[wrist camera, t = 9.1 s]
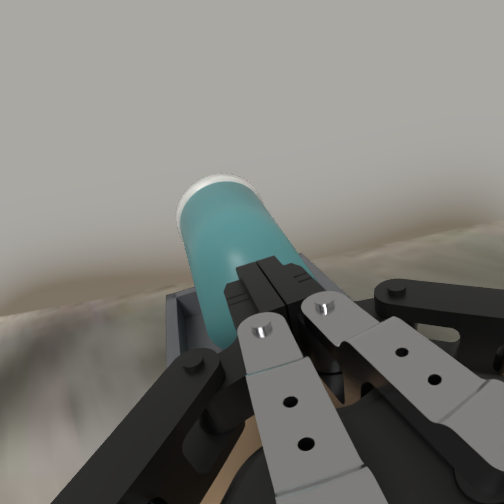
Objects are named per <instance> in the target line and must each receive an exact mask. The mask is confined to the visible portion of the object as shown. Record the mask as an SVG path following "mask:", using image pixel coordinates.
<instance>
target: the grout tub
mask: <svg viewBox="0 0 504 504" xmlns="http://www.w3.org/2000/svg"><path fill="white" fill-rule="evenodd" d="M176 223H177V228H178V232H179V235H180V237H181V239H182V240H183V242H184V246H185V250H186V254H187V258H188V262H189V266H190V270H191V273H192V277H193V281H194V285H195V289H196V293H197V297H198V300H199V304H200V308H201V311H202V315H203V319H204V322H205V326H206V329H207V332H208V335H209V337H210V339H211V340H212V342H213V343H214V344H215V345H217V346H218V347H220V348H221V349H223V350H225V349H226V348H228V347H229V346H230V345H231V344H232V343H233V342H234V341H235V339H236V337H237V332H236V329H235V327H234V324H233V321H232V318H231V314H230V311H229V308H228V305H227V302H226V299H225V295H224V292H223V291H224V289H225V286H226V284H227V283H230V282H234V281H237V280H239V279H238V276H237V272H236V267H239V266H242V265H245V264H248V263H251V262H255V261H257V260H260V259H264V258H267V257H270V256H273V255H274V256H275V257H276V258H277V259H278V260H279V261H280V262H281V263H282V264H283V265H286V264H289V263H293V264H296V265H299V266H302V267H303V268H304V269H305V270H306V271H307V273H309V274H310V275H311V276H312V278H314V279H315V277H314V276H313V274H312V273H311V271H310V270H309V269H308V267H307V266H306V264H305V263H304V261H303V260H302V258H301V257H300V256H299V254H298V253H297V251H296V250H295V248H294V247H293V246H292V244H291V243H290V241H289V240H288V238H287V237H286V236H285V234H284V233H283V231H282V230H281V229H280V227H279V226H278V224H277V223H276V222H275V220H274V219H273V218H272V216H271V215H270V213H269V212H268V210H267V209H266V208H265V206H264V204H263V201H262V199H261V197H260V195H259V193H257V191H256V189H255V188H254V187H253V186H252V185H251V184H250V183H249V182H248V181H247V180H245V179H243V178H241V177H239V176H236V175H233V174H223V173H221V174H214V175H210V176H207V177H204V178H202V179H200V180H198V181H197V182H195V183H194V184H192V185H191V186H190V187H189V188H188V189H187V190H186V191H185V192H184V194H183V196H182V197H181V199H180V201H179V203H178V206H177V210H176ZM315 280H316V279H315ZM316 281H317V280H316Z"/></svg>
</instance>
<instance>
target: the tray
mask: <svg viewBox="0 0 504 504" xmlns="http://www.w3.org/2000/svg"><path fill="white" fill-rule="evenodd" d="M299 256H300V257H301V258H302V260H303V261H304V263H305V264H306V266H307V267H308V269H309V270H310V271H311V273H312V274H313V276H314V277H315V279H316V280H317V282H318V283H319V284H320V285H321V286H322V287H323V288H324V289H325V290H326V291H335V292H339V293H342V294H343V295H345V296H346V297H347V298H349V299H350V300H351V301H353V300H352V299H351V298H350V297H349V296H347V295H346V294H345V293H344V292H343V291H342V290H341V289H340V288H339V287H338V286H337V285H336V284H335V283H334V282H332V281H331V280H330V279H329V278H328V277H327V276H326V275H325V274H324V273H323V272H322V271H321V270H319V269H318V268H317V267H316V266H315V265H314V264H313V263H312V262H311V261H310V260H309V259H307V258H306V257H305V256H304V255H303V254H302V253H300V254H299ZM353 302H354V301H353ZM195 348H209V349H212V350H214V351H215V352H216V353H217V354H218V353H220V352H221V351H223V349H221V348H220V347H218V346H217V345H215V344H214V343H213V342H212V340H211V339H210V337H209V335H208V332H207V329H206V326H205V322H204V319H203V315H202V311H201V308H200V304H199V300H198V297H197V293H196V289H195V287H192V288H189V289H186V290H182V291H179V292H176V293H173V294H169V295H166V352H167V368H168V367H169V365H170V364H171V363H172V362H173V361H174V360H175V359H176V358H177V357H178V356H179V355H181V354H182V353H184V352H186V351H188V350H191V349H195Z"/></svg>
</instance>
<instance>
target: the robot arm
mask: <svg viewBox="0 0 504 504" xmlns="http://www.w3.org/2000/svg"><path fill="white" fill-rule="evenodd" d="M236 272H237V276H238V279H239V280H237V281H234V282H230V283H227V284H226V286H225V289H224V291H223V292H224V295H225V299H226V302H227V305H228V308H229V311H230V314H231V318H232V321H233V324H234V327H235V329H236V332H237V337H236V339H235V341H234V342H233V343H232V344H231V345H230V346H229V347H228V348H226V349H225V350H223V351H221V352H220V353H218V354H217V353H216V352H215V351H214V350H212V349H209V348H195V349H191V350H188V351H186V352H184V353H182V354H181V355H179V356H178V357H177V358H176V359H175V360H174V361H173V362H172V363H171V364H170V365H169V367H168V368H167V369H166V370H165V371H164V372H163V374H162V375H161V376H160V377H159V378H158V380H157V381H156V382H155V383H154V384H153V385H152V387H151V388H150V389H149V390H148V391H147V392H146V394H145V395H144V396H143V397H142V398H141V400H140V401H139V402H138V403H137V404H136V405H135V407H134V408H133V409H132V410H131V411H130V412H129V414H128V415H127V416H126V417H125V418H124V419H123V421H122V422H121V423H120V424H119V425H118V426H117V428H116V429H115V430H114V431H113V432H112V433H111V435H110V436H109V437H108V438H107V439H106V440H105V442H104V443H103V444H102V445H101V446H100V447H99V448H98V450H97V451H96V452H95V453H94V454H93V455H92V457H91V458H90V459H89V460H88V461H87V462H86V464H85V465H84V466H83V467H82V468H81V469H80V470H79V472H78V473H77V474H76V475H75V476H74V477H73V478H72V480H71V481H70V482H69V483H68V484H67V485H66V487H65V488H64V489H63V490H62V491H61V492H60V493H59V495H58V496H57V497H56V498H55V499H54V500H53V501H52V502H51V504H200V503H201V501H202V500H203V498H204V497H205V495H206V493H207V492H208V490H209V489H210V487H211V485H212V484H213V482H214V480H215V479H216V477H217V475H218V474H219V472H220V470H221V469H222V467H223V465H224V464H225V462H226V460H227V459H228V457H229V455H230V453H231V452H232V450H233V448H234V446H235V445H236V443H237V441H238V439H239V438H240V436H241V434H242V432H243V430H244V428H245V420H247V419H249V418H250V417H252V416H253V415H255V417H256V422H257V426H258V430H259V434H260V437H261V441H262V445H263V446H262V447H260V448H259V449H257V450H256V451H255V452H254V453H253V454H252V455H251V456H250V457H249V458H248V459H247V460H246V461H245V462H244V463H243V464H242V466H241V467H240V468H239V470H238V471H237V473H236V474H235V476H234V478H233V480H232V482H231V484H230V486H229V487H228V489H227V491H226V493H225V495H224V497H223V499H222V501H221V503H220V504H504V290H501V289H491V288H482V287H472V286H463V285H453V284H444V283H434V282H425V281H416V280H407V279H391V280H387V281H384V282H382V283H380V284H379V285H378V286H377V287H376V288H375V290H374V298H373V299H367V300H362V301H355V302H353V301H351V300H350V299H349V298H347V297H346V296H345V295H343V294H342V293H339V292H335V291H326V290H325V289H324V288H323V287H322V286H321V285H320V284H319V283H318V282H317V281H316V280H315V279H314V278H312V276H311V275H310V274H309V273H307V271H306V270H305V269H304V268H303V267H302V266H299V265H296V264H293V263H289V264H286V265H283V264H282V263H281V262H280V261H279V260H278V259H277V258H276V257H275V256H274V255H273V256H270V257H267V258H264V259H260V260H257V261H255V262H251V263H248V264H245V265H242V266H239V267H236ZM417 323H421V324H428V325H435V326H442V327H449V328H453V329H455V330H457V331H458V332H459V334H460V339H459V340H458V341H456V342H444V341H437V340H431V339H427V338H426V337H424V336H423V335H422V334H420V333H419V332H417ZM332 402H333V403H334V405H335V406H336V407H337V408H336V409H335V407H334V405H333V403H332Z"/></svg>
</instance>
